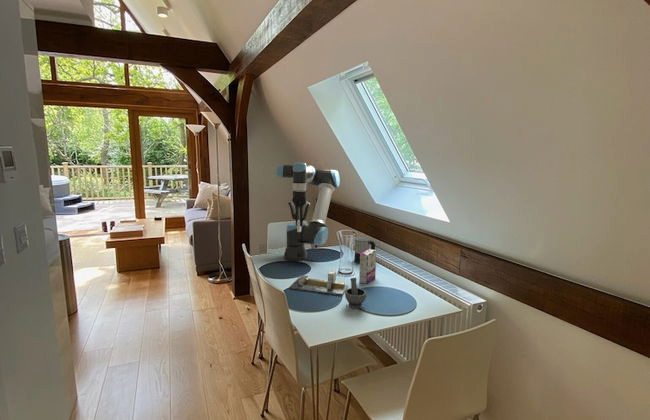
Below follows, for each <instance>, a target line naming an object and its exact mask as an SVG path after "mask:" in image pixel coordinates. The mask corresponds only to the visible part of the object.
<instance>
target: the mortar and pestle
mask: <svg viewBox="0 0 650 420" xmlns="http://www.w3.org/2000/svg"><path fill="white" fill-rule="evenodd" d="M357 285H358V284H357V278H356V277H351V278H350V287H351V288H347V289H346V291H345V292H344V295H345V299H346V301H347V302H348V307H349V308H351V309H354V310H359V309H361V308H362V307H363V303H364V302H365V301H366V298H367V291H366V290H365V289H363V288H360V287H358V286H357ZM361 306H362V307H361ZM360 307H361V308H360ZM358 308H359V309H358Z"/></svg>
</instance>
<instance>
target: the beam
mask: <svg viewBox="0 0 650 420" xmlns="http://www.w3.org/2000/svg"><path fill="white" fill-rule="evenodd" d="M297 279H298V282H299V286H302V285H303V284H304V283H310V284H317V285H324V286H327V281H328V280H325V279H324V280H323V279H318V278H317V279H316V278H309V276H308V275H302V276H301V277H300V276H299V277H298V278H297ZM345 285H346V283H345V282H339V281H335V282H334V283H332V284H331V286H332V287H339V288H344V287H345Z"/></svg>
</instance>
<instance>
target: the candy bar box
mask: <svg viewBox="0 0 650 420" xmlns="http://www.w3.org/2000/svg"><path fill="white" fill-rule="evenodd" d="M376 263H377V250H376V249H375V250H372V249H371V248H369V249H368V250H366V251H364V252H363V253H361V254H360V263H359V277H358V278H359V279H358V280H359V282H358V283H361V284H364V285H368V284H369V283H370V282H372V281H373V280H375V279H376V273H377V272H376V270H377V269H376V268H377V267H376V265H377V264H376Z"/></svg>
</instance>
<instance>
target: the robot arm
mask: <svg viewBox="0 0 650 420" xmlns="http://www.w3.org/2000/svg"><path fill="white" fill-rule="evenodd" d="M276 175H277V177H278V178H285V179H291V180H292V190H293V191H292V199H291V201H289V202H287V204H288V206H289V208H290V213H291V218H292V220H295V222H292V223H288V224H287V226H286V248H285V251H284V253H283V258H284V260H287V261H291V262H297V261H298V262H299V261H300V262H301V261H304V260H307V258H308V253H307V249H306V246H305V244H306V245H315V246H322V245H323V246H324V245H325V243H326V242H327V239H328V236H329V228H327V225H326V220H327V216H328V211H329V207H330V203H331V199H332V195H333V192H335V190H336V188H339V186H340V183H341V182H340V178H341V177H340V174H339V171H338V170H336V169H321V168H320V169H319V168H318V169H317V168H316V169H315V167H314V166H312V165H310V164H308V165H307V163H306V162H294V163H292V164H279V165H277V166H276ZM307 185H310V186H311V185H312V186H315V187H318V189H319V192H318V194H317V199H316V204H315V208H314V212H313V216H312V219H311V221H309V223H308V225H306V223H305V222H304V221H305V220H307V216H308V213H309V209H310V206H311V205H312V204H311V203H310V202H308V200H307ZM304 208H305V209H304Z"/></svg>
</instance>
